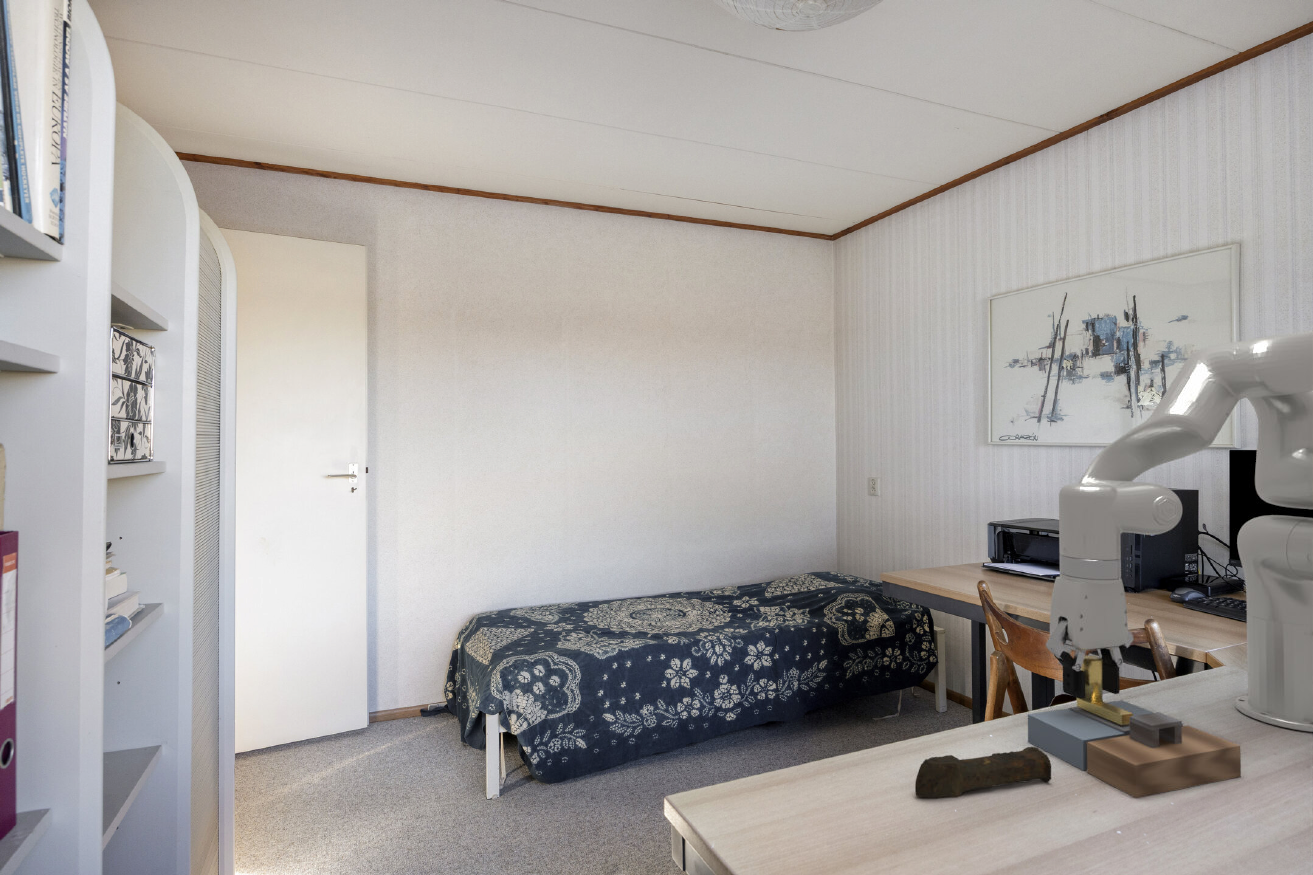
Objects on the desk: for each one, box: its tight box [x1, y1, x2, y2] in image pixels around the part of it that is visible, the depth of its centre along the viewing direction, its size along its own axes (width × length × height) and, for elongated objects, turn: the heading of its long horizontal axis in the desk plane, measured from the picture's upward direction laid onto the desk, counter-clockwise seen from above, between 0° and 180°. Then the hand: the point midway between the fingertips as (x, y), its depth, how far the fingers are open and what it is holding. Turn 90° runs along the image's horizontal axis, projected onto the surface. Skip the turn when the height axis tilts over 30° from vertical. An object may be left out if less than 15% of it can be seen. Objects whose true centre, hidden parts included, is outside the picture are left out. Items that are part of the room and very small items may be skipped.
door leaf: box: [1027, 699, 1184, 771], centre depth 96 cm, size 18×9×4 cm, turn 106°
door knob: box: [1076, 654, 1133, 725], centre depth 96 cm, size 3×7×7 cm, turn 16°
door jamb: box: [1086, 711, 1242, 799], centre depth 88 cm, size 18×7×7 cm, turn 106°
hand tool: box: [914, 746, 1052, 799], centre depth 85 cm, size 19×4×5 cm, turn 103°
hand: (1091, 691), depth 98 cm, fingers open, 5 cm apart
